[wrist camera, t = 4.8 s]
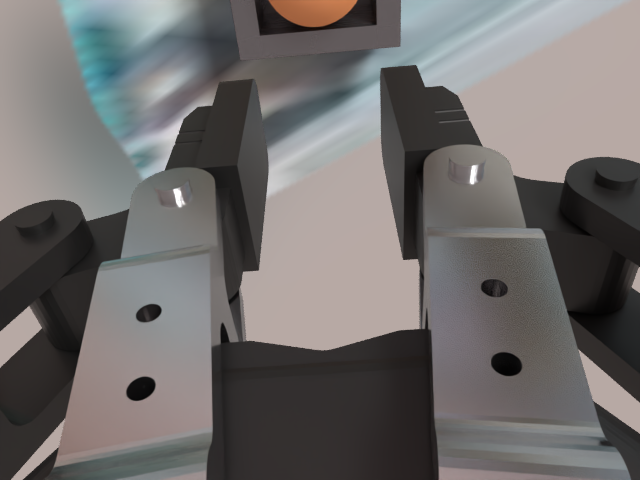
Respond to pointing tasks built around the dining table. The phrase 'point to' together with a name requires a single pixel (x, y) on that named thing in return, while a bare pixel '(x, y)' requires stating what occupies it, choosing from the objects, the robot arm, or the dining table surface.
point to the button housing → (314, 30)
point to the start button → (313, 11)
